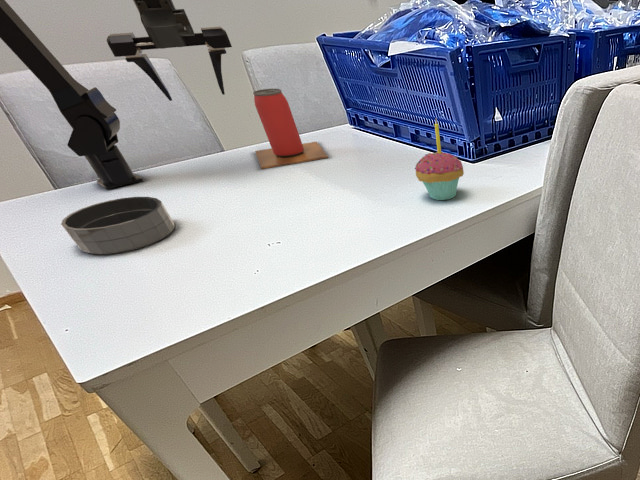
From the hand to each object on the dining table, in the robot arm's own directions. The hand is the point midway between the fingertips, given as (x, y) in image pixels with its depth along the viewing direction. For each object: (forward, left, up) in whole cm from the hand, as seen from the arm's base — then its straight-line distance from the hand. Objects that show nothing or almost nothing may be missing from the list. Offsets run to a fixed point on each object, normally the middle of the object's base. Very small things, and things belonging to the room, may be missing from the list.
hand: (197, 97), depth 87 cm
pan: (+22, -26, -13) cm, 37 cm away
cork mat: (+2, +13, -13) cm, 19 cm away
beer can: (+2, +13, -13) cm, 18 cm away
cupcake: (+50, +17, -13) cm, 54 cm away
